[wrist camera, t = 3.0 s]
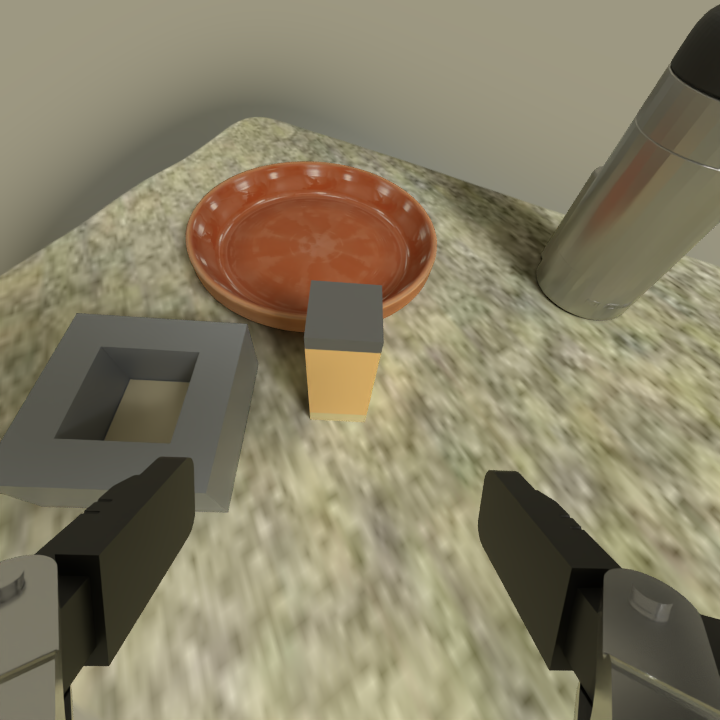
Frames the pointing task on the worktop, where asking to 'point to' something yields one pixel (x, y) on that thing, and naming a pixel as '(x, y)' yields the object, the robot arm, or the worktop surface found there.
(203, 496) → the socket block
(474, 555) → the worktop surface
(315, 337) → the plug
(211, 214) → the saucer
